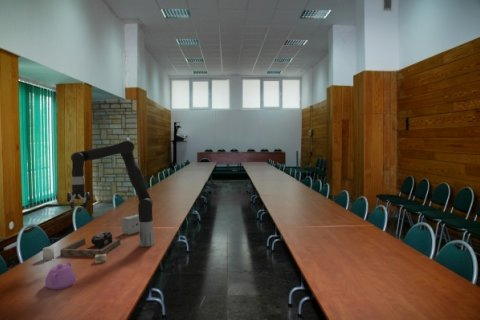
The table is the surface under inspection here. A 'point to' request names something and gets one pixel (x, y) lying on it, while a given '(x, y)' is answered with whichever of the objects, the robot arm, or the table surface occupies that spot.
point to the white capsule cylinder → (48, 253)
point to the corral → (73, 250)
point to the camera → (102, 239)
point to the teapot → (60, 277)
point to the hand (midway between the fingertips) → (78, 208)
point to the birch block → (100, 258)
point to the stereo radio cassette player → (130, 224)
